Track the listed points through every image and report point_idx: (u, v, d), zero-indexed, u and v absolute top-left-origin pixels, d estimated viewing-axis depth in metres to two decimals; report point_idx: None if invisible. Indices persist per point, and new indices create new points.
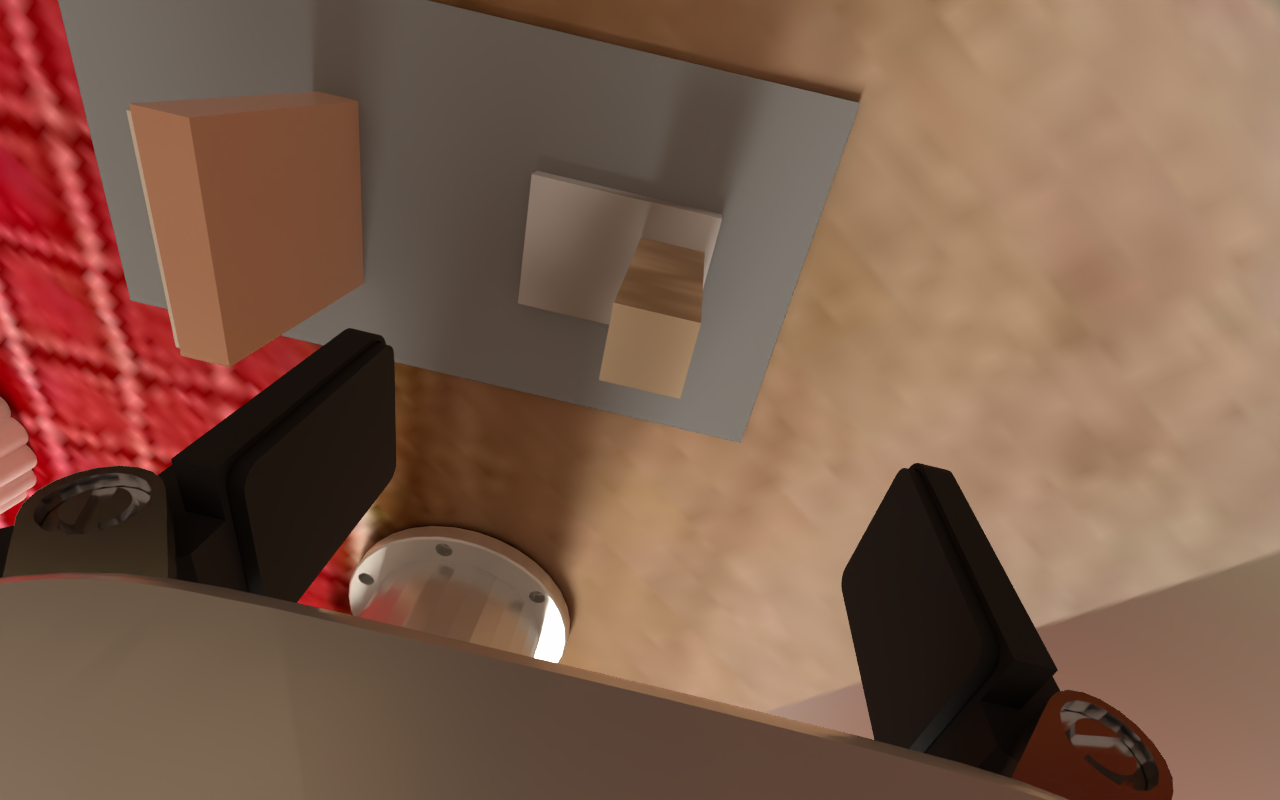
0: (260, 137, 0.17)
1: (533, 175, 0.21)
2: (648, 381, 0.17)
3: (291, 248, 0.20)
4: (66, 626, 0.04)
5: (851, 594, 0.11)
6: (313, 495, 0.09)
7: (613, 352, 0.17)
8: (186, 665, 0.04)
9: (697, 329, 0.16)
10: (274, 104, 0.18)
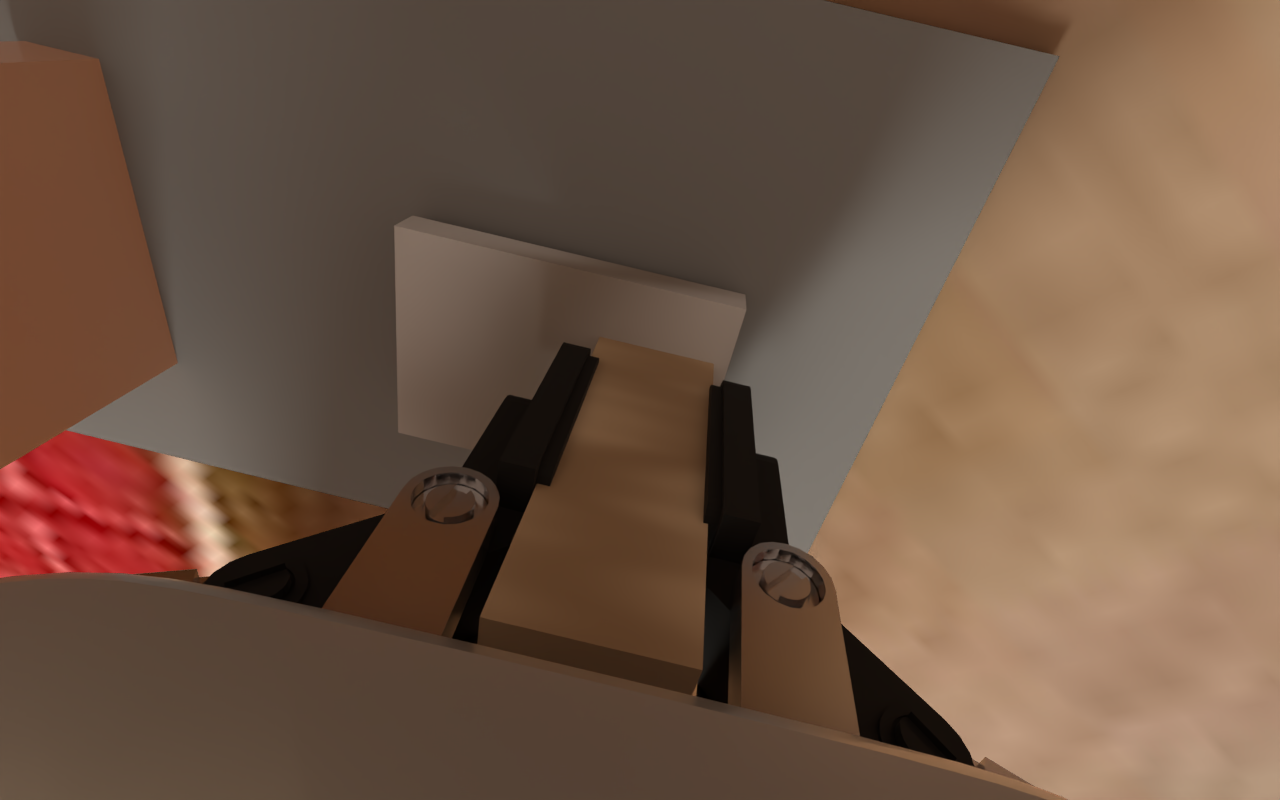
0: None
1: (398, 227, 0.12)
2: None
3: None
4: (63, 625, 0.04)
5: None
6: None
7: None
8: (185, 665, 0.04)
9: (693, 679, 0.06)
10: None
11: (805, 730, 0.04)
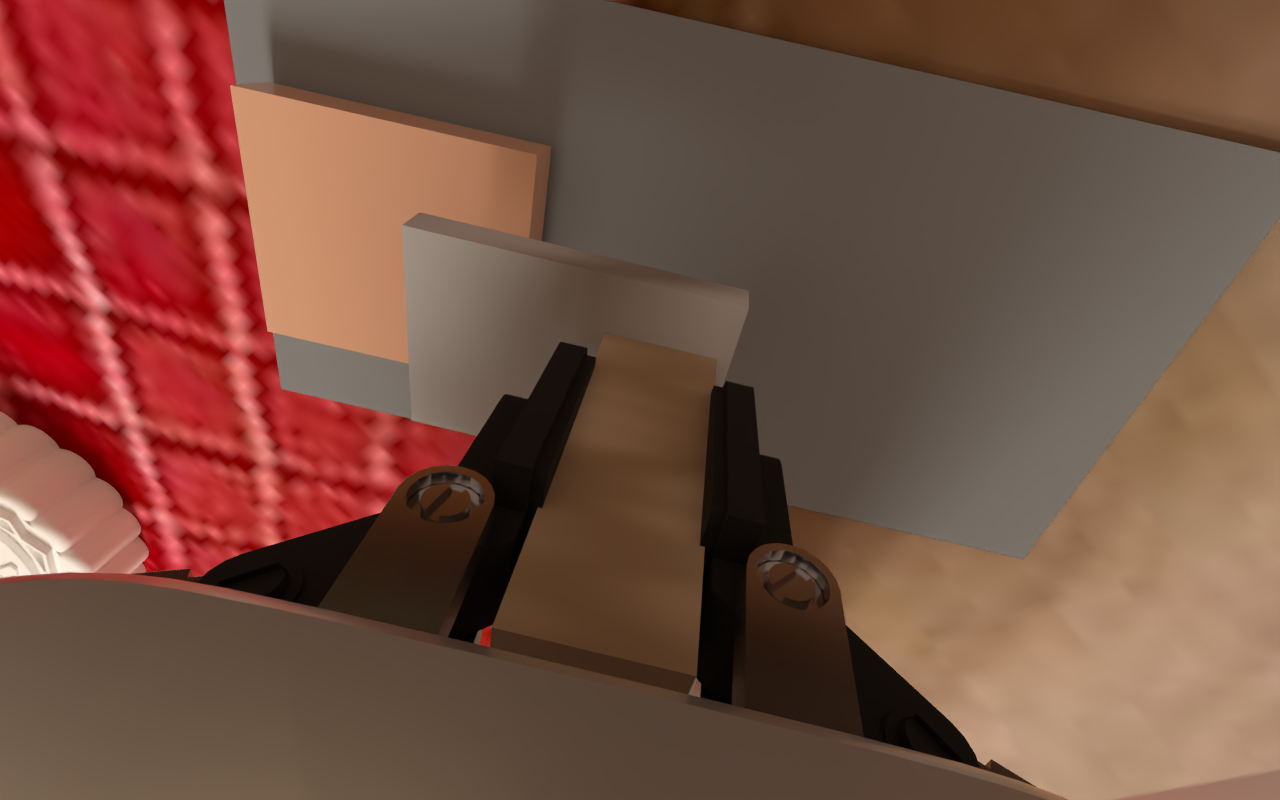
0: (328, 136, 0.15)
1: (405, 227, 0.12)
2: None
3: (370, 272, 0.17)
4: (65, 625, 0.04)
5: None
6: None
7: None
8: (186, 665, 0.04)
9: (688, 683, 0.07)
10: (389, 117, 0.15)
11: (806, 730, 0.04)
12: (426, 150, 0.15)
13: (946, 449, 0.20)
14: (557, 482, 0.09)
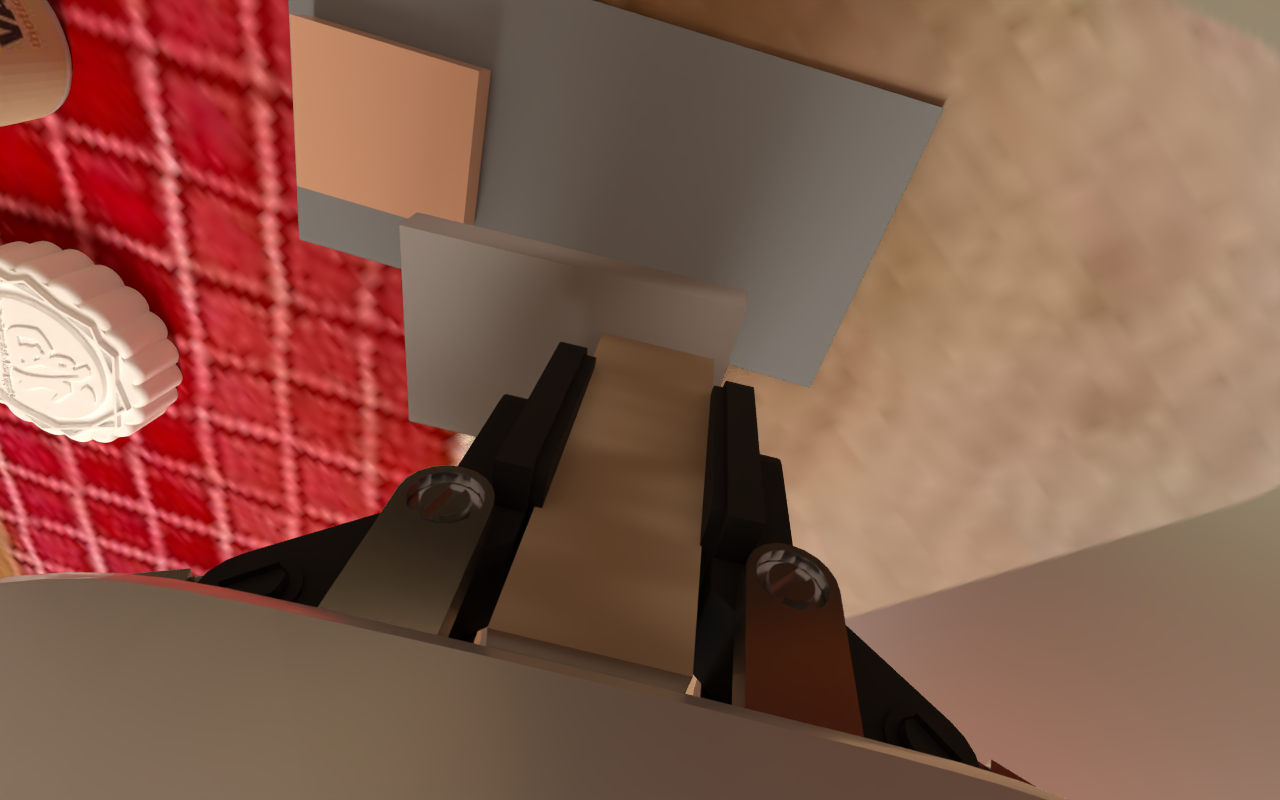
0: (349, 51, 0.25)
1: (403, 227, 0.12)
2: None
3: (369, 146, 0.27)
4: (66, 625, 0.04)
5: None
6: None
7: None
8: (185, 665, 0.04)
9: (684, 684, 0.07)
10: (388, 42, 0.25)
11: (805, 730, 0.04)
12: (410, 64, 0.25)
13: (751, 299, 0.30)
14: (554, 482, 0.09)
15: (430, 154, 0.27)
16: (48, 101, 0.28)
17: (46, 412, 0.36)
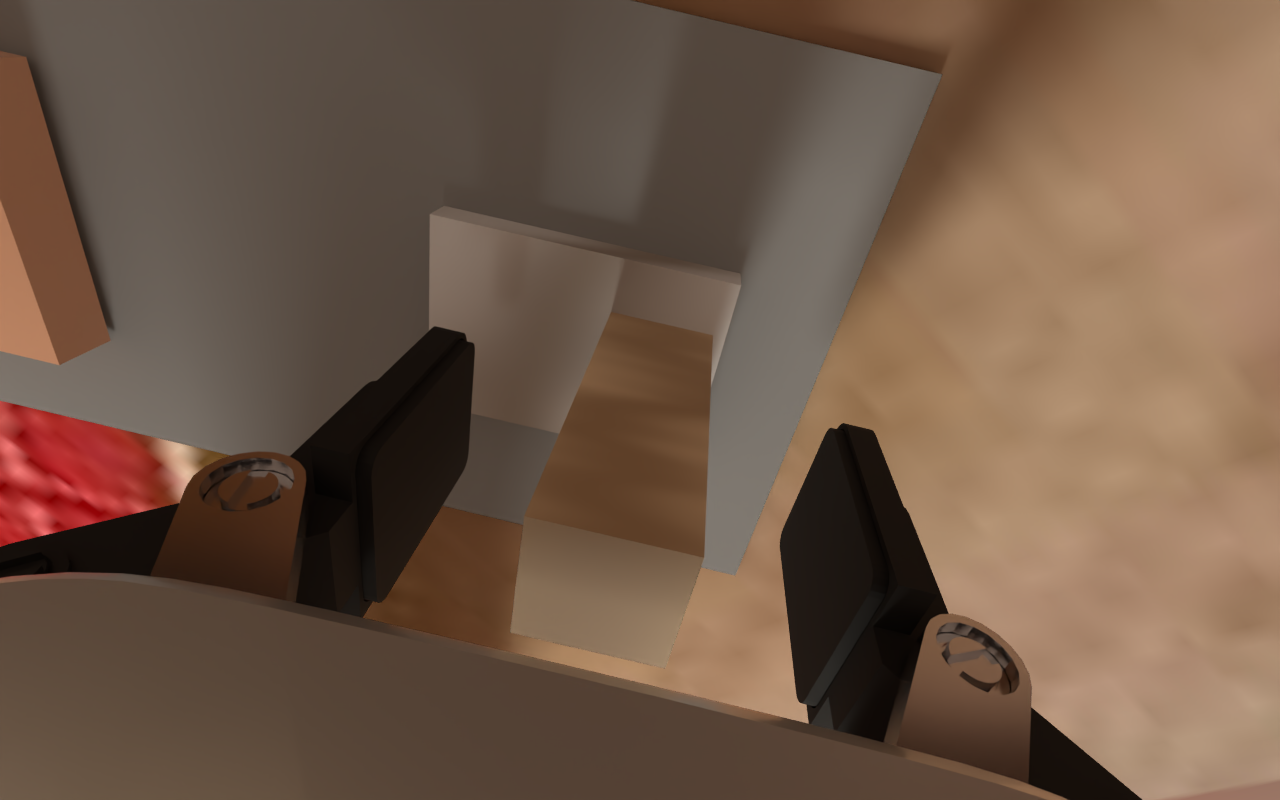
0: None
1: (433, 216, 0.13)
2: (604, 640, 0.09)
3: None
4: (63, 627, 0.04)
5: (786, 550, 0.12)
6: (413, 481, 0.09)
7: (532, 593, 0.08)
8: (185, 665, 0.04)
9: (697, 567, 0.08)
10: None
11: (805, 730, 0.04)
12: None
13: None
14: (574, 417, 0.10)
15: None
16: None
17: None
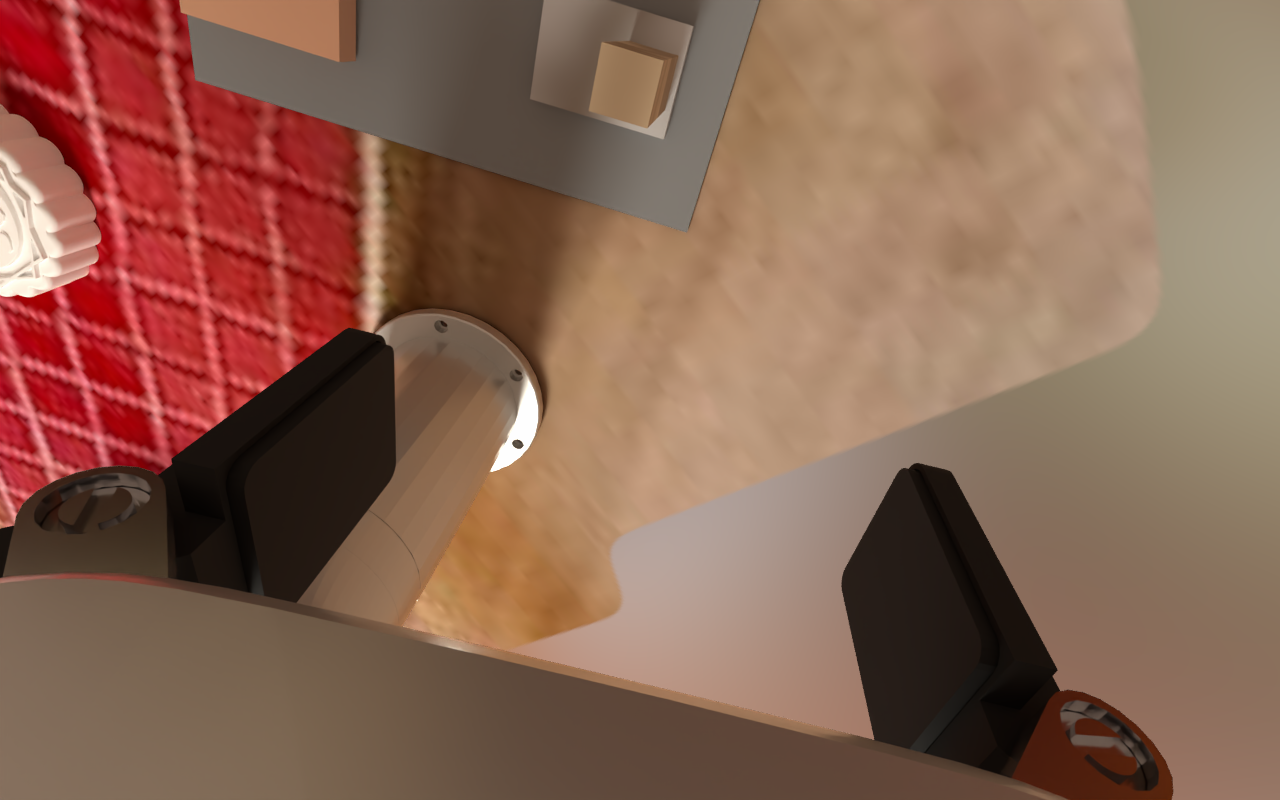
0: None
1: None
2: (624, 112, 0.23)
3: None
4: (65, 626, 0.04)
5: (851, 594, 0.11)
6: (313, 495, 0.09)
7: (600, 85, 0.23)
8: (185, 665, 0.04)
9: (661, 66, 0.22)
10: None
11: (805, 730, 0.04)
12: None
13: (623, 136, 0.31)
14: (616, 42, 0.24)
15: None
16: None
17: None
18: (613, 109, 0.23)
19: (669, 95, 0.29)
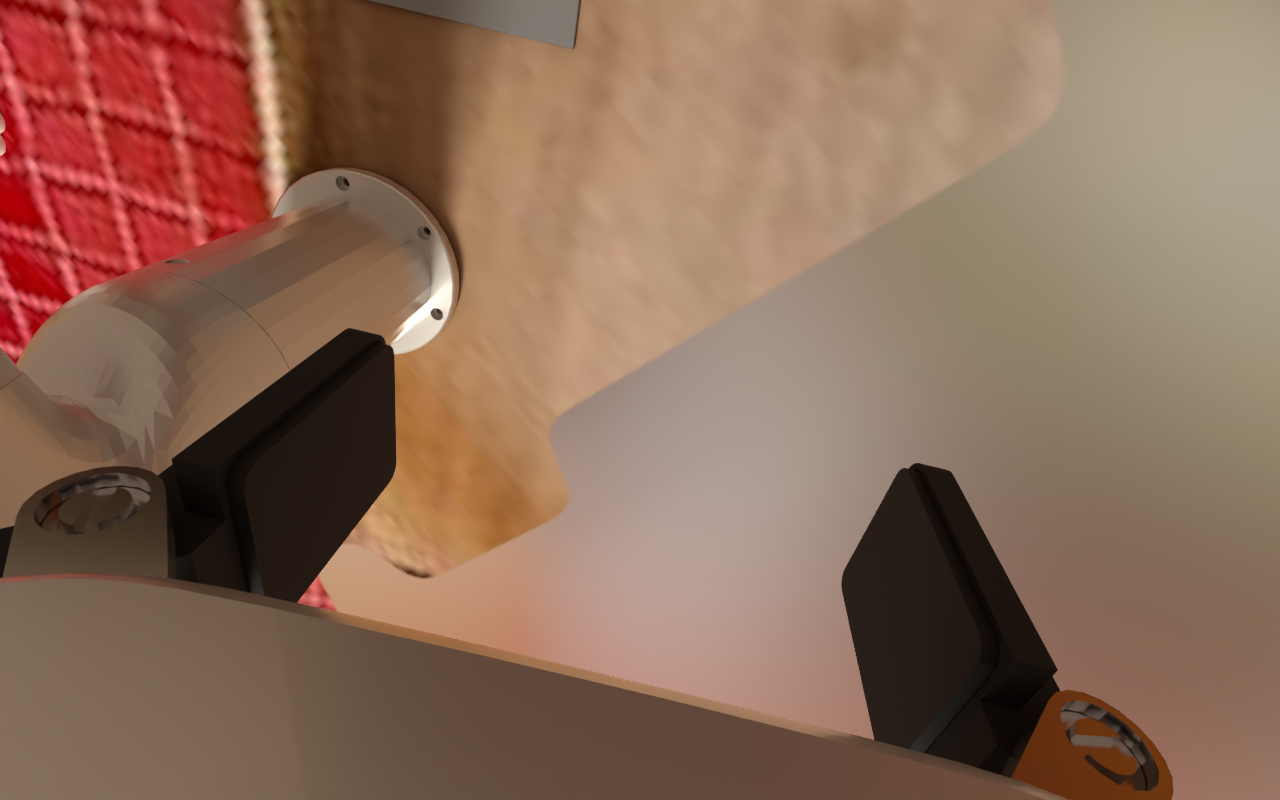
0: None
1: None
2: None
3: None
4: (65, 626, 0.04)
5: (851, 594, 0.11)
6: (313, 495, 0.09)
7: None
8: (185, 666, 0.04)
9: None
10: None
11: (805, 730, 0.04)
12: None
13: None
14: None
15: None
16: None
17: None
18: None
19: None
